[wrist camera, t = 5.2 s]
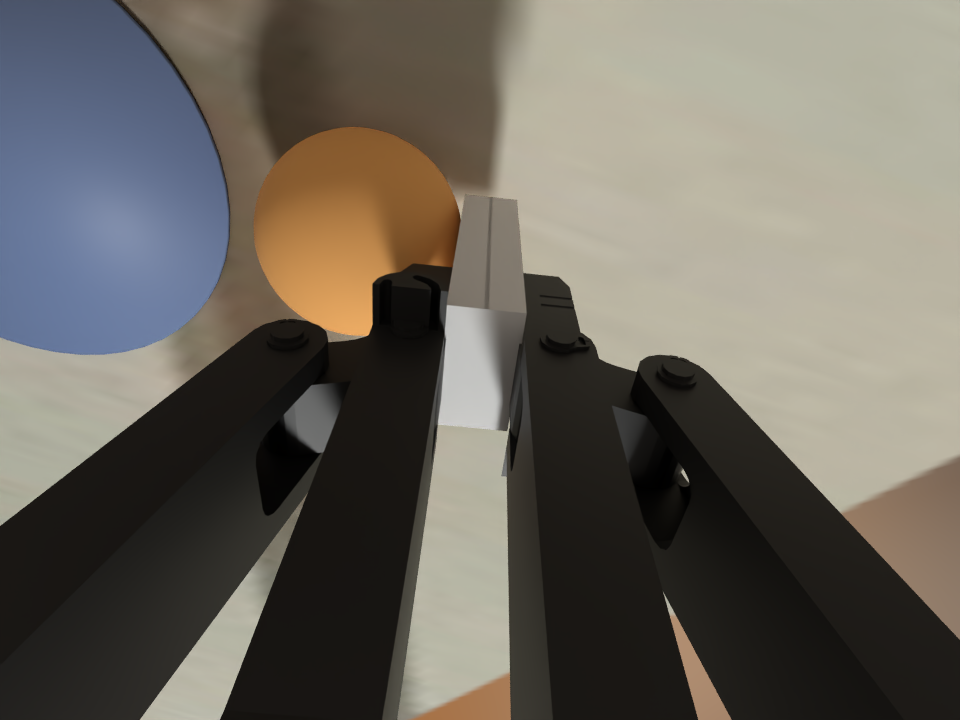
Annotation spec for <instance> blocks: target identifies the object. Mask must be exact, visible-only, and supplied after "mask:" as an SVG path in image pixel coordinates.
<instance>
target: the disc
mask: <svg viewBox="0 0 960 720" xmlns="http://www.w3.org/2000/svg"><path fill="white" fill-rule="evenodd" d="M229 238H230V207H229V199H228V191H227V184H226V180H225V176H224V172H223V168H222V164H221V160H220V156H219V154H218V151H217V149H216V146H215V143H214V141H213V138H212V135H211V133H210V130H209V127H208V125H207V123H206V121H205V119H204V117H203V115H202V113H201V112H200V110H199V108H198V106H197V104H196V102H195V100H194V98H193V96H192V94H191V93H190V91H189V90H188V88H187V87H186V85H185V83H184V82H183V80H182V79H181V77H180V76H179V74H178V72H177V71H176V69H175V68H174V66H173V65H172V64H171V62H170V61H169V60H168V59H167V57H166V56H165V55H164V53H163V52H162V51H161V50H160V48H159V47H158V46H157V44H156V43H155V42H154V41H153V39H152V38H151V37H150V36H149V35H148V33H147V32H146V31H145V30H144V29H143V28H142V27H141V26H140V25H139V24H138V23H137V22H136V21H135V20H134V19H133V18H132V17H131V16H130V15H129V13H128V12H127V11H126V10H125V9H124V8H123V7H122V6H121V5H120V4H118V3H117V2H116V1H115V0H0V337H1V338H4V339H6V340H10V341H13V342H16V343H20V344H23V345H26V346H30V347H34V348H39V349H44V350H49V351H53V352H61V353H70V354H80V355H90V354H111V353H119V352H126V351H130V350H134V349H138V348H141V347H145V346H147V345H150V344H152V343H155V342H157V341H159V340H162V339H164V338H166V337H167V336H169V335H170V334H172V333H174V332H175V331H177V330H179V329H180V328H181V327H182V326H183V325H185V324H186V323H187V322H188V321H189V320H190V319H191V318H193V317H194V316H195V315H196V314H197V313H198V311H199V310H200V309H201V307H202V306H203V305H204V304H205V302H206V301H207V300H208V299H209V297H210V296H211V294H212V292H213V290H214V288H215V286H216V285H217V283H218V281H219V279H220V276H221V273H222V270H223V267H224V264H225V261H226V256H227V250H228V244H229Z"/></svg>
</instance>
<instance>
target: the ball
mask: <svg viewBox="0 0 960 720" xmlns="http://www.w3.org/2000/svg"><path fill="white" fill-rule="evenodd" d="M460 222H461V219H460V213H459V209H458V206H457V202H456V200H455V197H454V195H453V193H452V190H451V188H450V186H449V184H448V182H447V181H446V179H445V177H444V176H443V175H442V173H441V172H440V170H439V169H438V168H437V167H436V165H435V164H434V163H433V162H432V161H431V160H430V159H429V158H428V157H427V156H426V155H425V154H424V153H422V152H421V151H420V150H419V149H417V148H416V147H414V146H413V145H412V144H410V143H408V142H406V141H405V140H403V139H401V138H399V137H397V136H395V135H392V134H389V133H387V132H384V131H379V130H375V129H370V128H364V127H344V128H336V129H332V130H327V131H323V132H320V133H317V134H315V135H312V136H310V137H308V138H306V139H304V140H303V141H301V142H299V143H298V144H296V145H295V146H294V147H292V148H291V149H290V150H289V151H287V152H286V153H285V154H284V155H283V156H282V157H281V158H280V159H279V160H278V161H277V163H276V164H275V165H274V166H273V168H272V169H271V171H270V172H269V174H268V175H267V177H266V179H265V181H264V183H263V185H262V187H261V190H260V192H259V196H258V199H257V203H256V206H255V214H254V241H255V247H256V251H257V255H258V258H259V261H260V264H261V267H262V269H263V271H264V273H265V275H266V277H267V279H268V281H269V283H270V284H271V286H272V287H273V288H274V290H275V291H276V293H277V294H278V295H279V297H280V298H281V299H282V300H283V301H284V302H285V303H286V304H287V305H288V306H289V307H290V308H291V309H293V310H294V311H295V312H296V313H298V314H299V315H300V316H301V317H303V318H305V319H306V320H308V321H310V322H311V323H314V324H317V325H319V326H320V327H322V328H325V329H327V330H330V331H334V332H337V333H341V334H347V335H359V336H368V335H369V333H370V330H371V328H372V325H373V319H372V284H373V283H374V281H375V280H376V279H377V278H379V277H381V276H384V275H386V274H390V273H396V272H401V271H402V270H404V269H405V268H407V267H408V266H410V265H411V264H413V263H416V264H425V265H435V266H444V267H453V263H454V257H455V251H456V245H457V240H458V234H459V228H460Z"/></svg>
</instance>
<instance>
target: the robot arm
mask: <svg viewBox="0 0 960 720" xmlns="http://www.w3.org/2000/svg"><path fill="white" fill-rule="evenodd" d="M372 319H373V325H372V328H371V330H370V333H369V335H368V336H366V337H363V338H359V339H356V340H349V341H339V342H328V337H327V332H326V331H325V330H324V329H323V328H322V327H320V326H319V325H317V324H314V323H311V322H309V321H302V320H297V319H288V320H286V319H283V320H278V321H275V322H271V323H267V324H264V325H262V326H260V327H258V328H257V329H255V330H253V331H252V332H251V333H249V334H248V335H247V336H245V337H244V338H243V339H241V340H240V341H239V342H238V343H236V344H235V345H234V346H232V347H231V348H230V349H229V350H227V351H226V352H225V353H223V354H222V355H221V356H219V357H218V358H217V359H216V360H214V361H213V362H212V363H210V364H209V365H208V366H207V367H205V368H204V369H203V370H201V371H200V372H199V373H198V374H196V375H195V376H194V377H192V378H191V379H190V380H188V381H187V382H186V383H185V384H183V385H182V386H181V387H179V388H178V389H177V390H176V391H174V392H173V393H172V394H170V395H169V396H168V397H167V398H165V399H164V400H163V401H161V402H160V403H159V404H157V405H156V406H155V407H154V408H152V409H151V410H150V411H148V412H147V413H146V414H145V415H143V416H142V417H141V418H139V419H138V420H137V421H135V422H134V423H133V424H132V425H130V426H129V427H128V428H126V429H125V430H124V431H123V432H121V433H120V434H119V435H117V436H116V437H115V438H114V439H112V440H111V441H110V442H108V443H107V444H106V445H104V446H103V447H102V448H101V449H99V450H98V451H97V452H95V453H94V454H93V455H92V456H90V457H89V458H88V459H86V460H85V461H84V462H83V463H81V464H80V465H79V466H77V467H76V468H75V469H73V470H72V471H71V472H70V473H68V474H67V475H66V476H64V477H63V478H62V479H61V480H59V481H58V482H57V483H55V484H54V485H53V486H51V487H50V488H49V489H48V490H46V491H45V492H44V493H42V494H41V495H40V496H39V497H37V498H36V499H35V500H33V501H32V502H31V503H30V504H28V505H27V506H26V507H24V508H23V509H22V510H20V511H19V512H18V513H17V514H15V515H14V516H13V517H11V518H10V519H9V520H8V521H6V522H5V523H4V524H2V525H1V526H0V720H140V718H141V717H142V716H143V714H144V713H145V712H146V710H147V709H148V708H149V706H150V705H151V704H152V702H153V701H154V700H155V698H156V697H157V695H158V694H159V693H160V691H161V690H162V689H163V687H164V686H165V685H166V683H167V682H168V681H169V679H170V678H171V677H172V675H173V674H174V673H175V671H176V670H177V668H178V667H179V666H180V664H181V663H182V662H183V660H184V659H185V658H186V656H187V655H188V654H189V652H190V651H191V650H192V648H193V647H194V645H195V644H196V643H197V641H198V640H199V639H200V637H201V636H202V635H203V633H204V632H205V631H206V629H207V628H208V627H209V625H210V624H211V623H212V621H213V620H214V618H215V617H216V616H217V614H218V613H219V612H220V610H221V609H222V608H223V606H224V605H225V604H226V602H227V601H228V600H229V598H230V597H231V595H232V594H233V593H234V591H235V590H236V589H237V587H238V586H239V585H240V583H241V582H242V581H243V579H244V578H245V577H246V575H247V574H248V573H249V571H250V570H251V568H252V567H253V566H254V564H255V563H256V562H257V560H258V559H259V558H260V556H261V555H262V554H263V552H264V551H265V550H266V548H267V547H268V545H269V544H270V543H271V541H272V540H273V539H274V537H275V536H276V535H277V533H278V532H279V531H280V529H281V528H282V527H283V525H284V524H285V523H286V521H287V520H288V518H289V517H290V516H291V514H292V513H293V512H294V510H295V509H296V508H297V506H298V505H299V504H300V502H301V501H302V500H303V498H304V497H305V495H306V494H307V493H308V494H307V496H306V499H305V502H304V504H303V507H302V509H301V512H300V515H299V517H298V520H297V522H296V525H295V528H294V530H293V533H292V535H291V538H290V541H289V543H288V546H287V548H286V551H285V554H284V556H283V559H282V561H281V564H280V567H279V569H278V572H277V574H276V577H275V580H274V582H273V585H272V587H271V590H270V593H269V595H268V598H267V600H266V603H265V606H264V608H263V611H262V613H261V616H260V619H259V621H258V624H257V626H256V629H255V632H254V634H253V637H252V639H251V642H250V645H249V647H248V650H247V652H246V655H245V658H244V660H243V663H242V665H241V668H240V671H239V673H238V676H237V678H236V681H235V684H234V686H233V689H232V691H231V694H230V697H229V699H228V702H227V704H226V707H225V710H224V712H223V714H222V716H221V719H220V720H397V716H398V709H399V702H400V695H401V688H402V681H403V674H404V667H405V660H406V653H407V646H408V638H409V631H410V624H411V617H412V610H413V603H414V596H415V589H416V582H417V575H418V568H419V561H420V553H421V546H422V539H423V532H424V525H425V518H426V511H427V504H428V497H429V490H430V483H431V476H432V469H433V461H434V454H435V447H436V439H437V426H438V424H439V425H450V426H460V427H470V428H481V429H491V430H502V431H507V429H508V423H509V417H510V429H509V435H508V441H507V447H506V453H505V459H504V465H503V471H502V476H506V477H507V515H508V576H509V636H510V695H511V696H510V697H511V720H698V717H697V714H696V710H695V707H694V703H693V699H692V696H691V692H690V688H689V685H688V681H687V677H686V674H685V670H684V666H683V663H682V659H681V655H680V652H679V648H678V645H677V641H676V637H675V634H674V630H673V626H672V623H671V619H670V615H669V612H668V608H667V605H666V601H665V597H664V594H665V596H666V597H667V599H668V601H669V603H670V605H671V607H672V609H673V611H674V612H675V614H676V616H677V618H678V620H679V622H680V624H681V626H682V627H683V629H684V631H685V633H686V635H687V637H688V639H689V640H690V642H691V644H692V646H693V648H694V650H695V652H696V654H697V656H698V657H699V659H700V661H701V663H702V665H703V667H704V669H705V671H706V672H707V674H708V676H709V678H710V680H711V682H712V683H713V685H714V687H715V689H716V691H717V693H718V695H719V697H720V699H721V701H722V702H723V704H724V706H725V708H726V710H727V712H728V714H729V715H730V717H731V719H732V720H960V640H959V639H958V638H957V637H956V636H955V634H954V633H953V632H952V631H951V630H950V629H949V628H948V627H947V626H946V625H945V624H944V623H943V622H942V621H941V620H940V619H939V618H938V616H937V615H936V614H935V613H934V612H933V611H932V610H931V609H930V608H929V607H928V606H927V605H926V604H925V603H924V602H923V600H922V599H921V598H920V597H919V596H918V595H917V594H916V593H915V592H914V591H913V590H912V589H911V588H910V587H909V586H908V585H907V583H906V582H905V581H904V580H903V579H902V578H901V577H900V576H899V575H898V574H897V573H896V572H895V571H894V570H893V569H892V568H891V566H890V565H889V564H888V563H887V562H886V561H885V560H884V559H883V558H882V557H881V556H880V555H879V554H878V553H877V552H876V551H875V549H874V548H873V547H872V546H871V545H870V544H869V543H868V542H867V541H866V540H865V539H864V538H863V537H862V536H861V535H860V533H859V532H857V530H856V529H855V528H854V527H853V526H852V525H851V524H850V523H849V522H848V521H847V520H846V519H845V518H844V516H843V515H842V514H841V513H840V512H839V511H838V510H837V509H836V508H835V507H834V506H833V505H832V504H831V503H830V502H829V501H828V499H827V498H826V497H825V496H824V495H823V494H822V493H821V492H820V491H819V490H818V489H817V488H816V487H815V486H814V485H813V483H812V482H811V481H810V480H809V479H808V478H807V477H806V476H805V475H804V474H803V473H802V472H801V471H800V470H799V469H798V468H797V466H796V465H795V464H794V463H793V462H792V461H791V460H790V459H789V458H788V457H787V456H786V455H785V454H784V453H783V452H782V451H781V449H780V448H779V447H778V446H777V445H776V444H775V443H774V442H773V441H772V440H771V439H770V438H769V437H768V436H767V435H766V434H765V432H764V431H763V430H762V429H761V428H760V427H759V426H758V425H757V424H756V423H755V422H754V421H753V420H752V419H751V418H750V417H749V415H748V414H747V413H746V412H745V411H744V410H743V409H742V408H741V407H740V406H739V405H738V404H737V403H736V402H735V401H734V400H733V398H732V397H731V396H730V395H729V394H728V393H727V392H726V391H725V390H724V389H723V388H722V387H721V386H720V385H719V384H718V383H717V381H716V380H715V379H714V378H713V377H712V376H711V375H710V374H709V373H708V372H706V371H705V370H704V369H703V368H701V367H700V366H698V365H696V364H694V363H692V362H690V361H689V360H687V359H684V358H681V357H680V358H678V357H677V356H672V355H669V356H667V355H655V356H649V357H646V358H645V359H643V360H642V361H640V363H639V367H638V370H637V372H635V371H631V370H628V369H624V368H621V367H617V366H614V365H612V364H609V363H606V362H604V361H602V360H600V359H599V357H598V354H597V350H596V347H595V345H594V344H593V342H592V340H591V339H589V338H588V337H587V336H585V335H584V334H583V333H580V329H579V324H578V320H577V316H576V312H575V309H574V304H573V300H572V295H571V291H570V287H569V286H568V285H567V284H565V283H564V282H563V281H562V280H561V279H560V278H559V277H554V276H545V275H535V274H526V273H523V264H522V253H521V241H520V230H519V218H518V207H517V200H512V199H503V198H493V197H484V196H475V195H466V194H465V199H464V205H463V210H462V216H461V222H460V228H459V234H458V240H457V245H456V251H455V257H454V263H453V267H444V266H435V265H425V264H416V263H413V264H411V265H410V266H408V267H407V268H405V269H404V270H402V271H401V272H396V273H390V274H386V275H384V276H381V277H379V278H377V279H376V280H375V281H374V283H373V284H372ZM682 469H684V471H685V473H686V475H687V477H688V479H689V482H688V481H687V480H686V479H685V477H684V476H683V475H682V473H681V471H682ZM663 592H664V594H663Z"/></svg>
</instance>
